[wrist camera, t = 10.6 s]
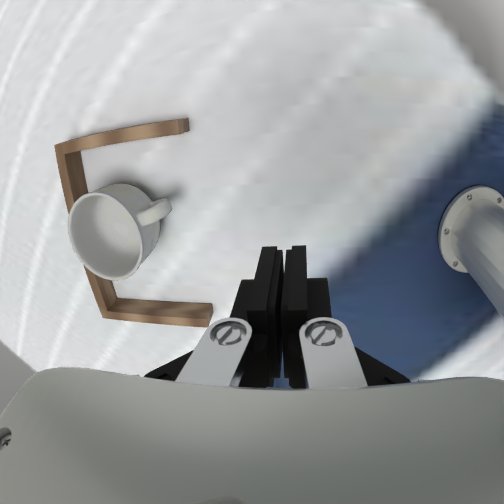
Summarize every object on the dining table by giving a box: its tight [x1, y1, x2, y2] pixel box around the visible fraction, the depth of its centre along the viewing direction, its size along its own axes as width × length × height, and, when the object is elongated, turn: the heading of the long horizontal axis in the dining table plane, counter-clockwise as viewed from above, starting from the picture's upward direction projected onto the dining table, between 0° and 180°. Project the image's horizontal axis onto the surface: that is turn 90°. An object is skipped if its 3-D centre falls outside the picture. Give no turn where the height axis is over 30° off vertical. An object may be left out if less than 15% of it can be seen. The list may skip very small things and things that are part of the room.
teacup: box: [68, 184, 172, 280], centre depth 35 cm, size 14×11×8 cm
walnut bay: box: [54, 118, 213, 327], centre depth 38 cm, size 18×27×4 cm, turn 3°
